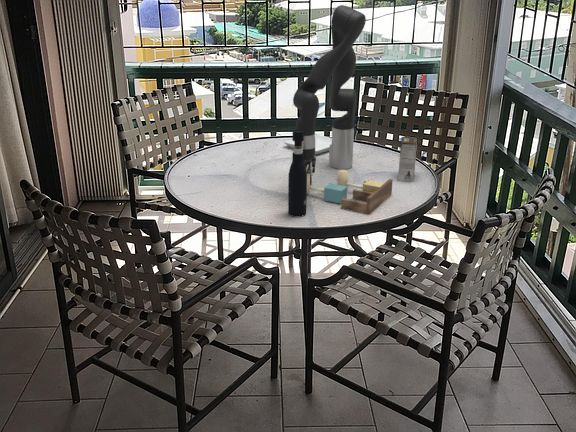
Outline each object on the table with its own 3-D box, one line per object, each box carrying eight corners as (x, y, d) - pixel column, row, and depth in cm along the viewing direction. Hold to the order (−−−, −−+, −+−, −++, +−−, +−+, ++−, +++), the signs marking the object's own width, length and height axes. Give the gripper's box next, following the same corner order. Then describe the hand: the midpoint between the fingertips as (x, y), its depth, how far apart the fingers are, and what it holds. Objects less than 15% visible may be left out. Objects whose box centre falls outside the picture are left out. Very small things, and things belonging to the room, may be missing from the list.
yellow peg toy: (334, 191, 240) (335, 172, 237) (340, 187, 244) (340, 168, 241) (379, 199, 232) (381, 180, 229) (384, 195, 236) (386, 176, 233)
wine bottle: (287, 210, 223) (287, 128, 212) (305, 209, 224) (306, 128, 212) (289, 217, 218) (289, 133, 206) (307, 216, 218) (308, 133, 206)
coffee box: (398, 173, 260) (401, 136, 254) (414, 174, 259) (417, 137, 253) (397, 180, 252) (400, 142, 246) (413, 181, 251) (417, 143, 245)
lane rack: (340, 208, 225) (341, 192, 223) (364, 189, 243) (365, 174, 241) (369, 214, 220) (370, 198, 218) (391, 194, 238) (392, 179, 236)
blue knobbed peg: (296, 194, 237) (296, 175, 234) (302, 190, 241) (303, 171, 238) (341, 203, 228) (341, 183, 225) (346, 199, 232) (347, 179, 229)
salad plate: (313, 139, 307) (313, 132, 305) (346, 148, 293) (347, 141, 291) (282, 148, 293) (282, 141, 292) (315, 158, 279) (315, 151, 278)
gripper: (305, 139, 238) (304, 180, 244) (286, 148, 226) (286, 192, 233) (322, 142, 234) (321, 183, 241) (305, 152, 223) (304, 195, 229)
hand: (304, 187), depth 237 cm, fingers open, 6 cm apart
